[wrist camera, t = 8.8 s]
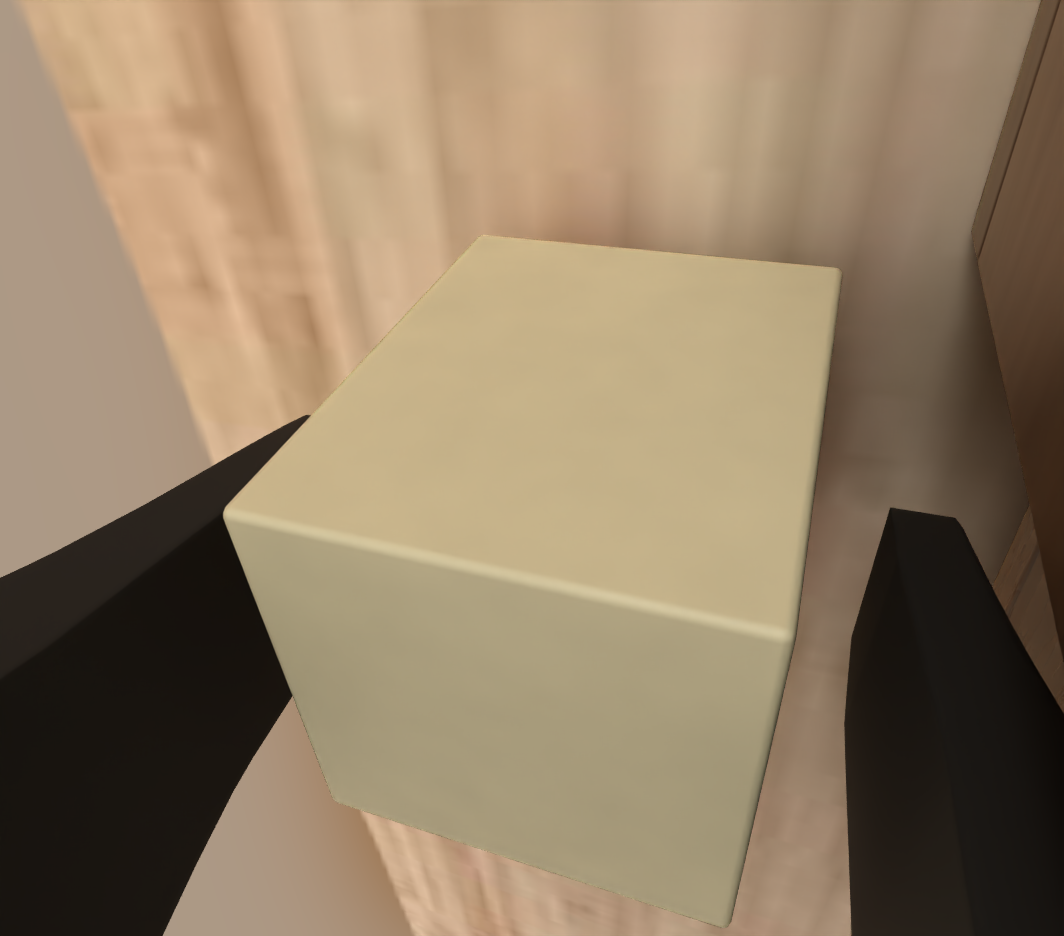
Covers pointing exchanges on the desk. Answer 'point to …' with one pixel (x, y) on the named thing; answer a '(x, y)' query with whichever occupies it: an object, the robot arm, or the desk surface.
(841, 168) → the desk surface
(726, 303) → the note cube
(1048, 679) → the drawer
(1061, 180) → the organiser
